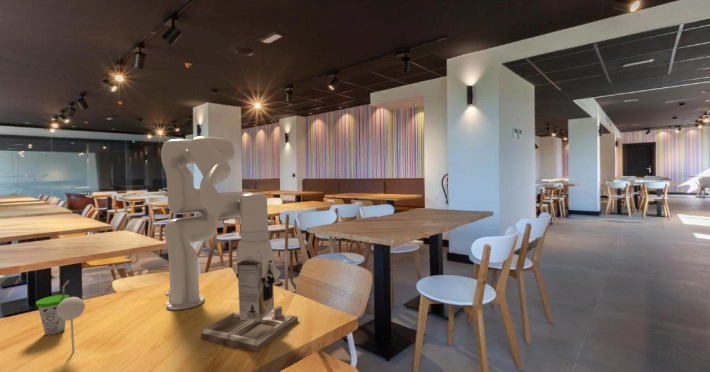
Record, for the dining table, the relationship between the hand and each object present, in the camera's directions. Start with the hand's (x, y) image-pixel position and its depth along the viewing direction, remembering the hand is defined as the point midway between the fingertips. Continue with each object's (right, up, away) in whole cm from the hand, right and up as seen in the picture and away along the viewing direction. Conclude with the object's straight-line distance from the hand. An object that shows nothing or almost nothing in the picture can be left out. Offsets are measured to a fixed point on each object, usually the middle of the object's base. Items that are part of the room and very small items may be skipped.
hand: (256, 297), depth 99 cm
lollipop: (-48, -13, -6) cm, 50 cm away
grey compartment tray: (-3, -12, +6) cm, 13 cm away
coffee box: (0, -5, 0) cm, 5 cm away
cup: (-64, -13, +6) cm, 65 cm away
